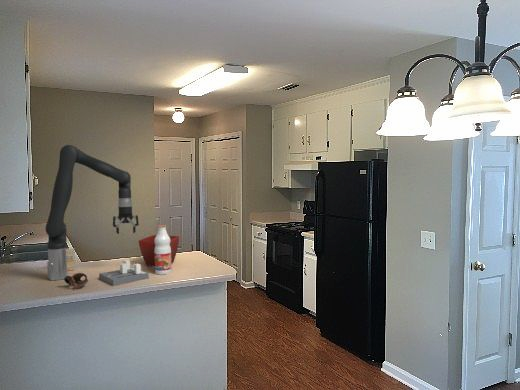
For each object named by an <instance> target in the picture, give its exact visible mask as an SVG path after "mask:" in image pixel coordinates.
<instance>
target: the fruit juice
mask: <svg viewBox="0 0 520 390" xmlns="http://www.w3.org/2000/svg"><path fill="white" fill-rule="evenodd" d="M169 236H170V235H169V234H168V232H167V224H158V225H157V233H156V237H155V239H154V242H155V249H154V254H155V267H154V271H155V274H156V275H161V276H163V275H169V274H171V273H172V269H173V268H172V267H173V266H172V263H171V247H170V237H169Z"/></svg>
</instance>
